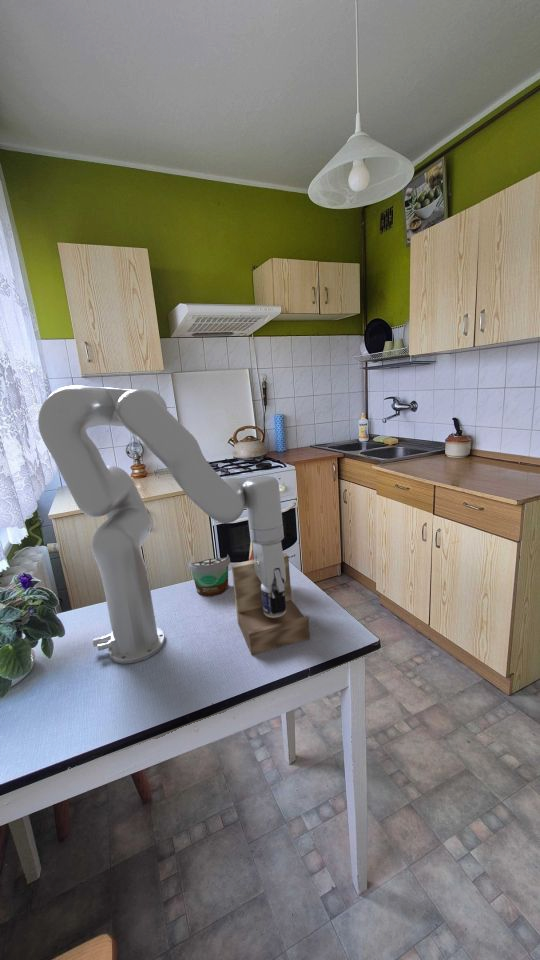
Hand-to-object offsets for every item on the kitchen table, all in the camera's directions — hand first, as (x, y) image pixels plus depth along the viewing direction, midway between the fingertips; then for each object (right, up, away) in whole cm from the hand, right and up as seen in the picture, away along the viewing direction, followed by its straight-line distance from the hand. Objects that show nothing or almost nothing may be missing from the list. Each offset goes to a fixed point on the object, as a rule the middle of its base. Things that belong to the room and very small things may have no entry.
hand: (274, 604), depth 89 cm
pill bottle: (0, -2, +1) cm, 2 cm away
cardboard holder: (0, -7, +3) cm, 8 cm away
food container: (-17, -4, +23) cm, 29 cm away
